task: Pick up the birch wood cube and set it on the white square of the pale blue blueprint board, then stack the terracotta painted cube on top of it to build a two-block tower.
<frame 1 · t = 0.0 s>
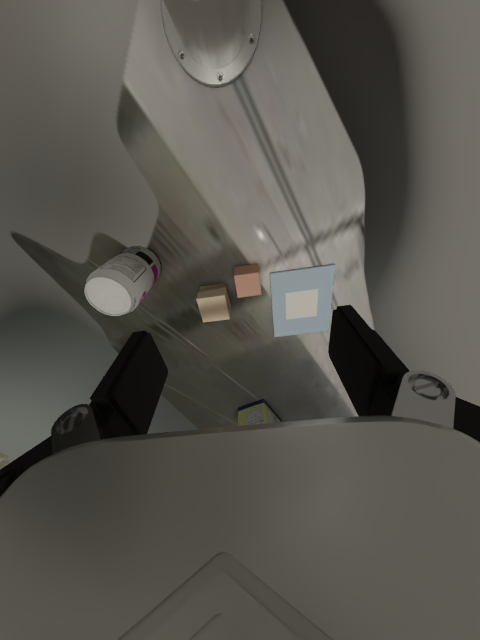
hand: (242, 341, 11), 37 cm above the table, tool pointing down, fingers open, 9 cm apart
supplement can: (143, 263, 47), on the table
blueprint board: (300, 303, 52), on the table
base block: (215, 296, 51), on the table
protein box: (260, 413, 79), on the table
top block: (247, 275, 48), on the table
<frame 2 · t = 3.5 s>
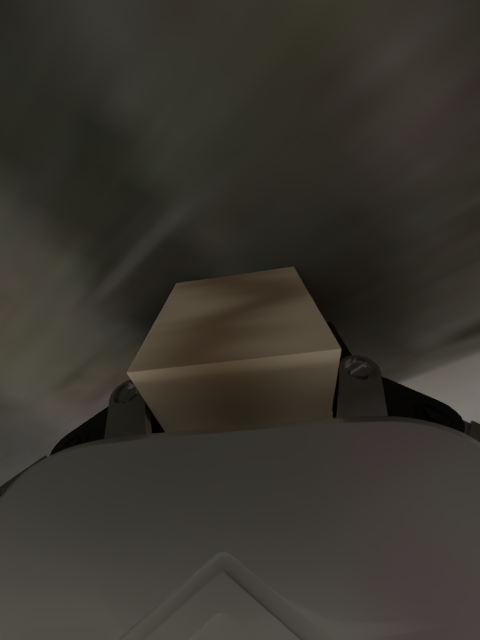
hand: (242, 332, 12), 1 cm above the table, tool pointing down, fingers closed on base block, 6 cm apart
base block: (242, 323, 13), on the table, touching gripper
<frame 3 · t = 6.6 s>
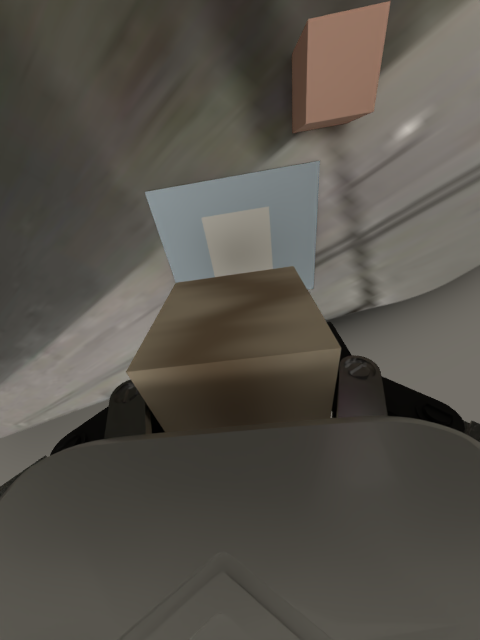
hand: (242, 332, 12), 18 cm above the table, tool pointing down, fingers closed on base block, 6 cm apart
blueprint board: (239, 244, 26), on the table
base block: (241, 322, 13), point 17 cm above the table, touching gripper
top block: (320, 91, 19), on the table
when the fingers open (3 cm above the table, at t = 9.8 s): base block drops 1 cm, resting on blueprint board.
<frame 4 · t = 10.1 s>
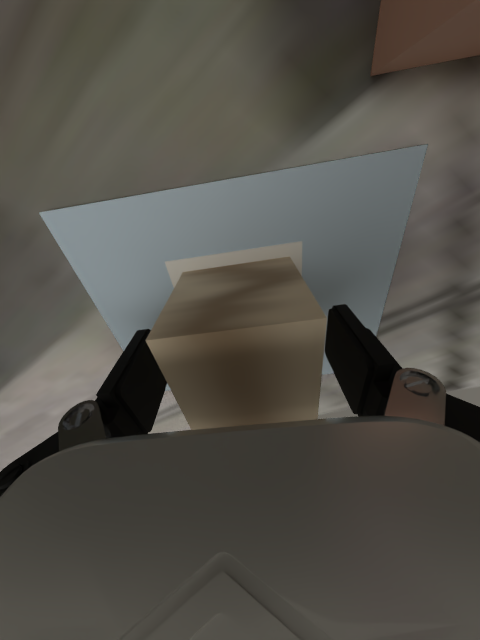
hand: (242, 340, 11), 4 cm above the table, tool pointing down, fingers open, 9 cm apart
blueprint board: (241, 305, 14), on the table
base block: (242, 309, 14), point 1 cm above the table, touching blueprint board
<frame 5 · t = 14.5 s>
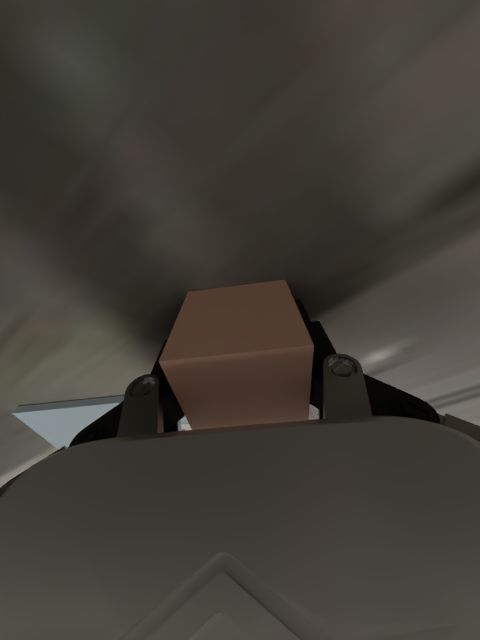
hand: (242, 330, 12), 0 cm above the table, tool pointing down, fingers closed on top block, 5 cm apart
blueprint board: (163, 442, 20), on the table
top block: (242, 325, 12), on the table, touching gripper
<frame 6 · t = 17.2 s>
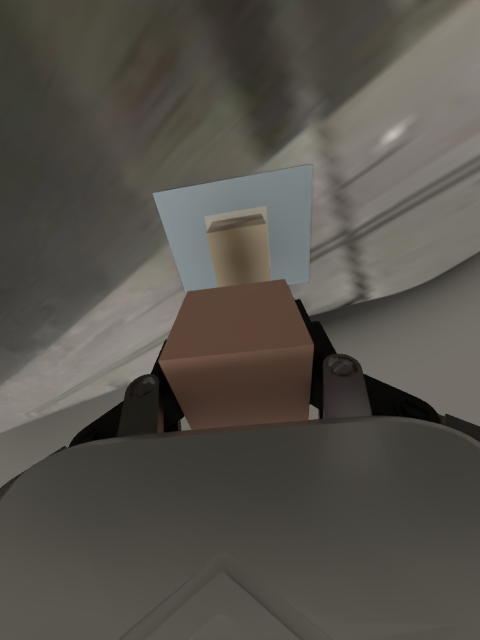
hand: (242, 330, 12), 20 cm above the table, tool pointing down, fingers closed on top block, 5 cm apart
blueprint board: (239, 241, 28), on the table
base block: (240, 242, 28), point 1 cm above the table, touching blueprint board
top block: (241, 324, 12), point 19 cm above the table, touching gripper
when the fingers open (8 cm above the table, at t = 19.7 s): top block drops 1 cm, resting on base block.
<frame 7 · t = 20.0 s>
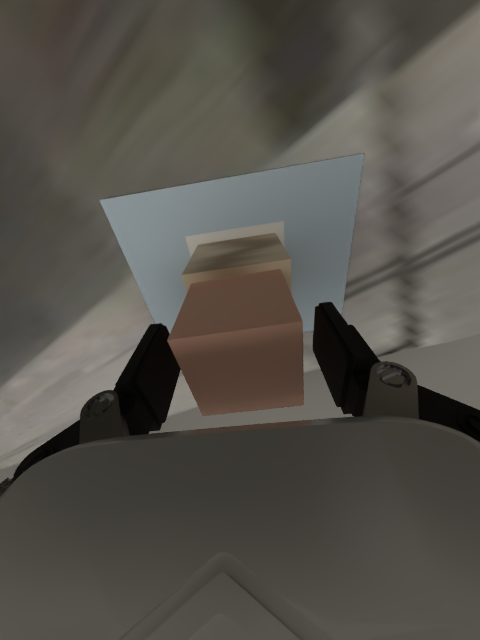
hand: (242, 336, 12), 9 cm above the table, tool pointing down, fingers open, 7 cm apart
blueprint board: (240, 272, 19), on the table
base block: (241, 275, 18), point 1 cm above the table, touching blueprint board, top block
top block: (242, 313, 13), point 7 cm above the table, touching base block
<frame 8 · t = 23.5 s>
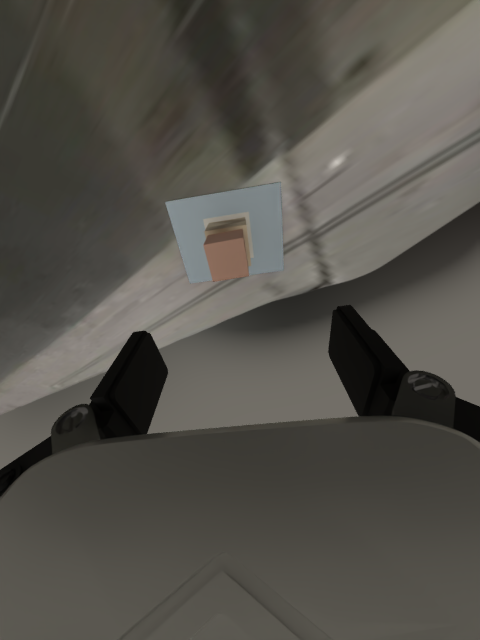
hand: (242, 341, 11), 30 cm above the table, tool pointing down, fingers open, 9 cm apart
blueprint board: (229, 238, 37), on the table
base block: (230, 239, 37), point 1 cm above the table, touching blueprint board, top block
top block: (228, 249, 32), point 7 cm above the table, touching base block
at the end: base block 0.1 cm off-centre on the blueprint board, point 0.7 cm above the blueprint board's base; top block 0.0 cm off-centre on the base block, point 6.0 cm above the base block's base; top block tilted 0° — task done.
